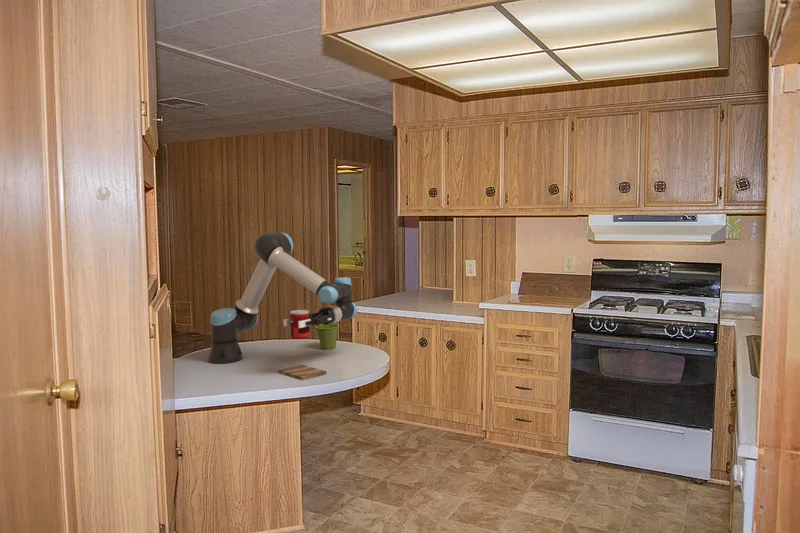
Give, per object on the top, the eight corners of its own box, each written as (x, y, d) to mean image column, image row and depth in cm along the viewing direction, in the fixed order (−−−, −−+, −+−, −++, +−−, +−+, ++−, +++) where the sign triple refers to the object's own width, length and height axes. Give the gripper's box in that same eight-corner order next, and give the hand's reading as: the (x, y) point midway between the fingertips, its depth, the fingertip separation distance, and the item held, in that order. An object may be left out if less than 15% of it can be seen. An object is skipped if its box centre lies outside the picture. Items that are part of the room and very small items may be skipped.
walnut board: (278, 372, 259) (278, 369, 259) (301, 366, 267) (301, 364, 267) (302, 380, 246) (302, 377, 245) (326, 374, 254) (326, 371, 254)
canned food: (295, 335, 259) (293, 309, 258) (312, 335, 258) (311, 309, 257) (288, 339, 252) (286, 312, 251) (306, 339, 250) (305, 313, 249)
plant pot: (311, 348, 302) (310, 326, 301) (328, 344, 311) (328, 322, 310) (327, 351, 294) (326, 329, 293) (345, 347, 303) (344, 325, 302)
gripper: (347, 325, 263) (309, 335, 245) (312, 321, 275) (274, 330, 257) (346, 308, 262) (309, 316, 244) (312, 305, 274) (273, 312, 256)
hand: (291, 323), depth 250 cm, fingers closed on canned food, 8 cm apart
